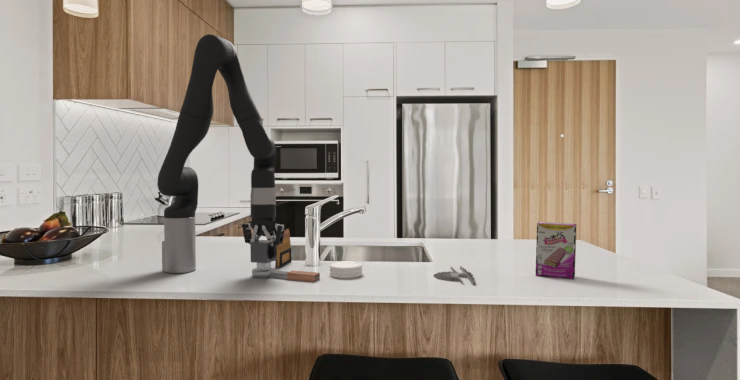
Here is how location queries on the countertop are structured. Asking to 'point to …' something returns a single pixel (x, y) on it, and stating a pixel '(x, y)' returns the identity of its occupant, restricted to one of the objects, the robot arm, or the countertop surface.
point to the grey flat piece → (455, 276)
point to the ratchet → (283, 273)
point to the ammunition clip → (284, 251)
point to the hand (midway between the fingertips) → (263, 257)
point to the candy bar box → (556, 250)
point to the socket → (261, 252)
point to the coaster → (345, 269)
